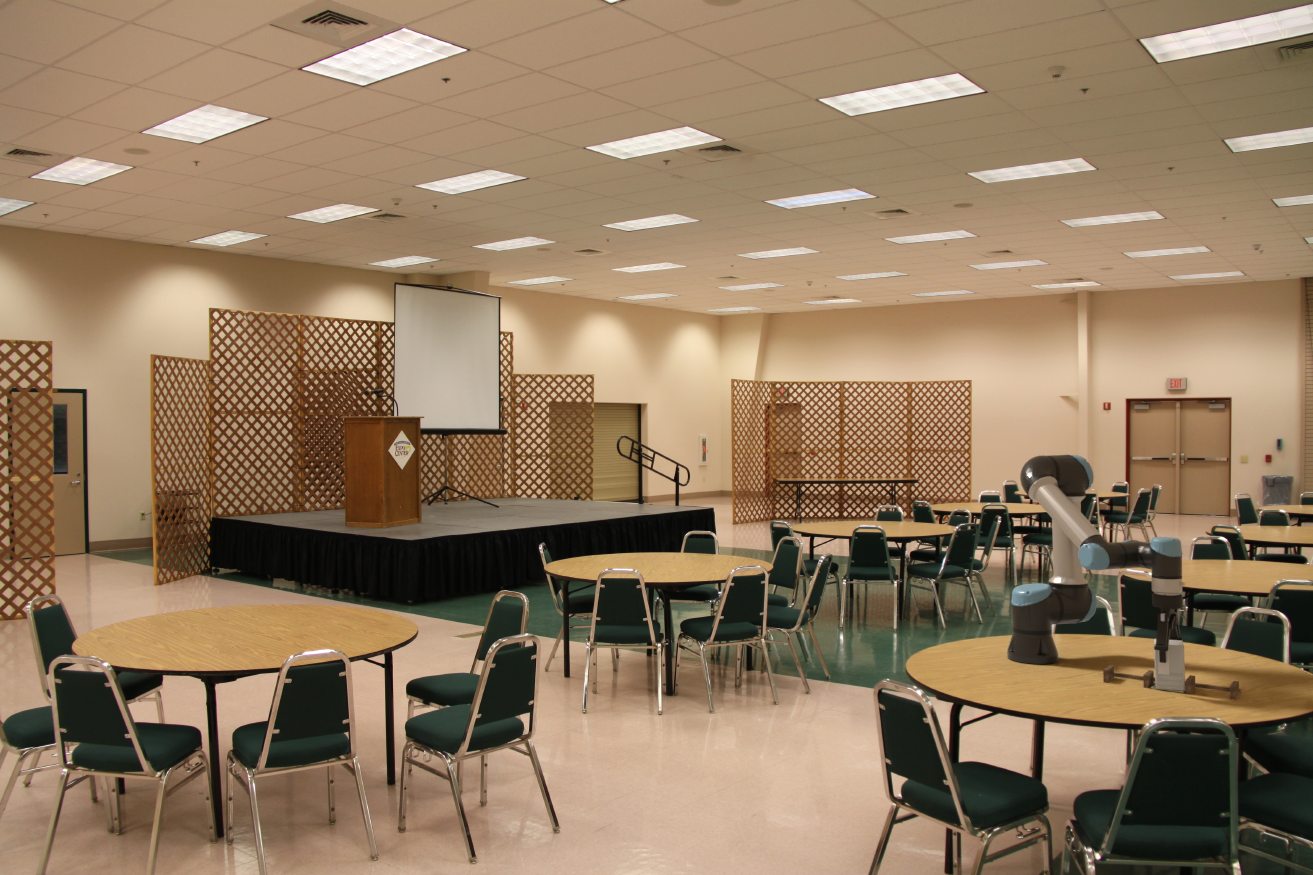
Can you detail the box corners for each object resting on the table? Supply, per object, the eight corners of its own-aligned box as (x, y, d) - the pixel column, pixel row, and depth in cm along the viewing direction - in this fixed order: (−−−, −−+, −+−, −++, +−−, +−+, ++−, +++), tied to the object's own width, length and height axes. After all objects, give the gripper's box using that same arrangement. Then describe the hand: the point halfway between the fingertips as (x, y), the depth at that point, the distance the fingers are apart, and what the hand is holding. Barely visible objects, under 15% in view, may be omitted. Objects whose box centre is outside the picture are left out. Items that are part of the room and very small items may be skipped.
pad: (1150, 688, 259) (1150, 687, 259) (1155, 683, 264) (1155, 682, 264) (1183, 692, 254) (1183, 691, 254) (1187, 687, 259) (1187, 686, 259)
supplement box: (1184, 685, 261) (1183, 640, 261) (1185, 691, 254) (1184, 645, 254) (1155, 682, 264) (1154, 637, 264) (1154, 688, 258) (1153, 642, 258)
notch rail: (1103, 681, 267) (1103, 669, 267) (1111, 675, 274) (1111, 663, 274) (1235, 699, 246) (1235, 686, 246) (1240, 692, 254) (1240, 679, 254)
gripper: (1173, 600, 247) (1175, 680, 247) (1190, 588, 267) (1192, 662, 267) (1142, 597, 252) (1143, 676, 252) (1161, 586, 271) (1163, 658, 271)
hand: (1169, 669), depth 259 cm, fingers open, 13 cm apart
